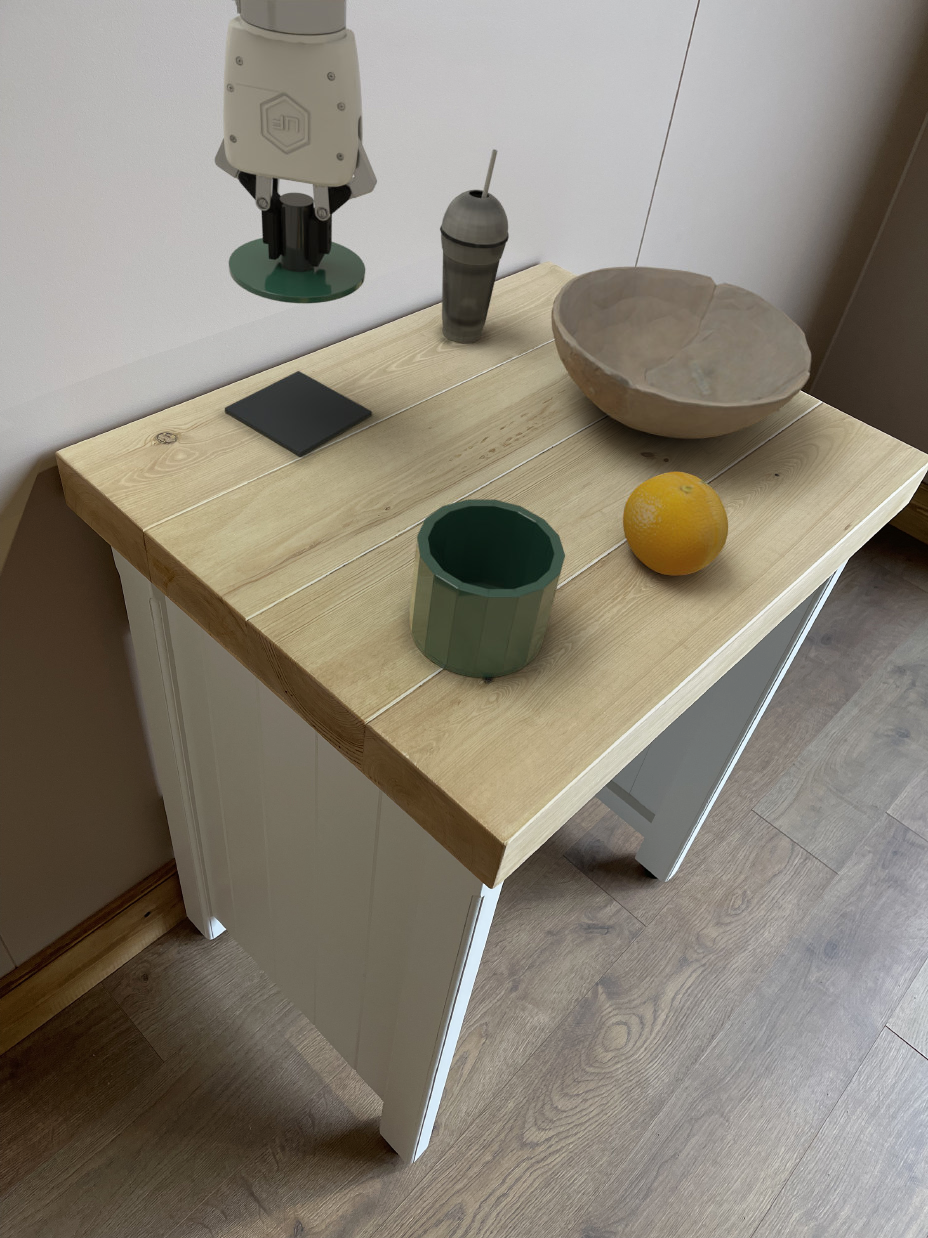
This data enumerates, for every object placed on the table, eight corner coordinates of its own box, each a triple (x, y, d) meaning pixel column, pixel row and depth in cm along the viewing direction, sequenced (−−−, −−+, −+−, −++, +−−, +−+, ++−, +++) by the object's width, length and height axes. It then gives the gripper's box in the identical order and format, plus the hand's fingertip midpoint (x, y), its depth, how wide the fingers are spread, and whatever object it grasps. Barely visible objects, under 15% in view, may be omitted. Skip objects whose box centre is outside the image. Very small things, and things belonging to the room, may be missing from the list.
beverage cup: (455, 310, 108) (476, 127, 94) (506, 333, 105) (535, 149, 91) (417, 331, 103) (433, 142, 89) (469, 356, 101) (494, 166, 87)
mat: (224, 412, 88) (224, 407, 88) (298, 374, 95) (298, 370, 94) (300, 457, 85) (300, 452, 85) (371, 415, 91) (372, 410, 91)
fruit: (728, 566, 81) (759, 494, 75) (676, 607, 76) (705, 533, 71) (648, 515, 85) (672, 443, 79) (594, 551, 80) (616, 477, 75)
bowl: (816, 411, 101) (854, 328, 94) (716, 524, 85) (752, 433, 78) (612, 322, 110) (632, 240, 103) (486, 408, 94) (500, 318, 87)
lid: (200, 273, 79) (192, 192, 74) (297, 236, 86) (295, 160, 81) (299, 324, 74) (297, 243, 70) (392, 281, 81) (396, 205, 77)
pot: (381, 628, 71) (387, 545, 65) (464, 562, 77) (476, 481, 71) (491, 700, 67) (508, 620, 61) (568, 625, 74) (591, 545, 68)
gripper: (162, -2, 63) (189, 259, 76) (396, 37, 63) (383, 292, 76) (198, -25, 68) (217, 223, 81) (414, 11, 68) (399, 253, 81)
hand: (297, 254), depth 78 cm, fingers closed on lid, 2 cm apart
